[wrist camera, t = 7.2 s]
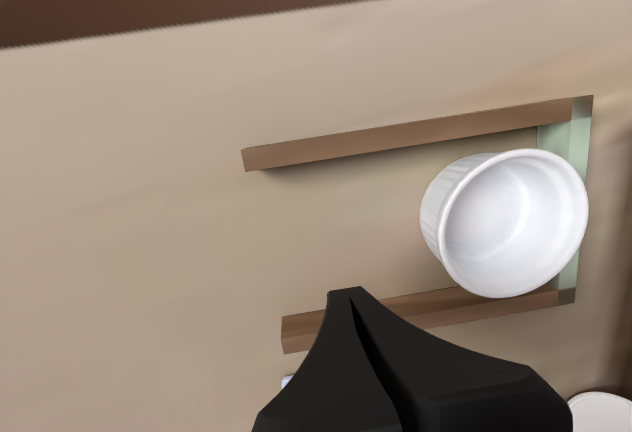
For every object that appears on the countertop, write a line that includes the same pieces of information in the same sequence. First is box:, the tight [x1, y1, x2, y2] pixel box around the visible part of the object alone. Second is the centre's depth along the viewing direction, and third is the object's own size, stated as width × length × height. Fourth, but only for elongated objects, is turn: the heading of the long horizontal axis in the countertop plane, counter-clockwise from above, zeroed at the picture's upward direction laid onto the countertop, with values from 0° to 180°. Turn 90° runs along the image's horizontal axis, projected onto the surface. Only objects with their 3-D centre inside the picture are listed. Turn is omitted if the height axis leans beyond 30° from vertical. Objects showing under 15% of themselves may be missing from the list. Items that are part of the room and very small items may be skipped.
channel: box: [241, 95, 593, 354], centre depth 20 cm, size 13×20×2 cm
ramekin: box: [419, 149, 589, 298], centre depth 19 cm, size 9×9×4 cm
